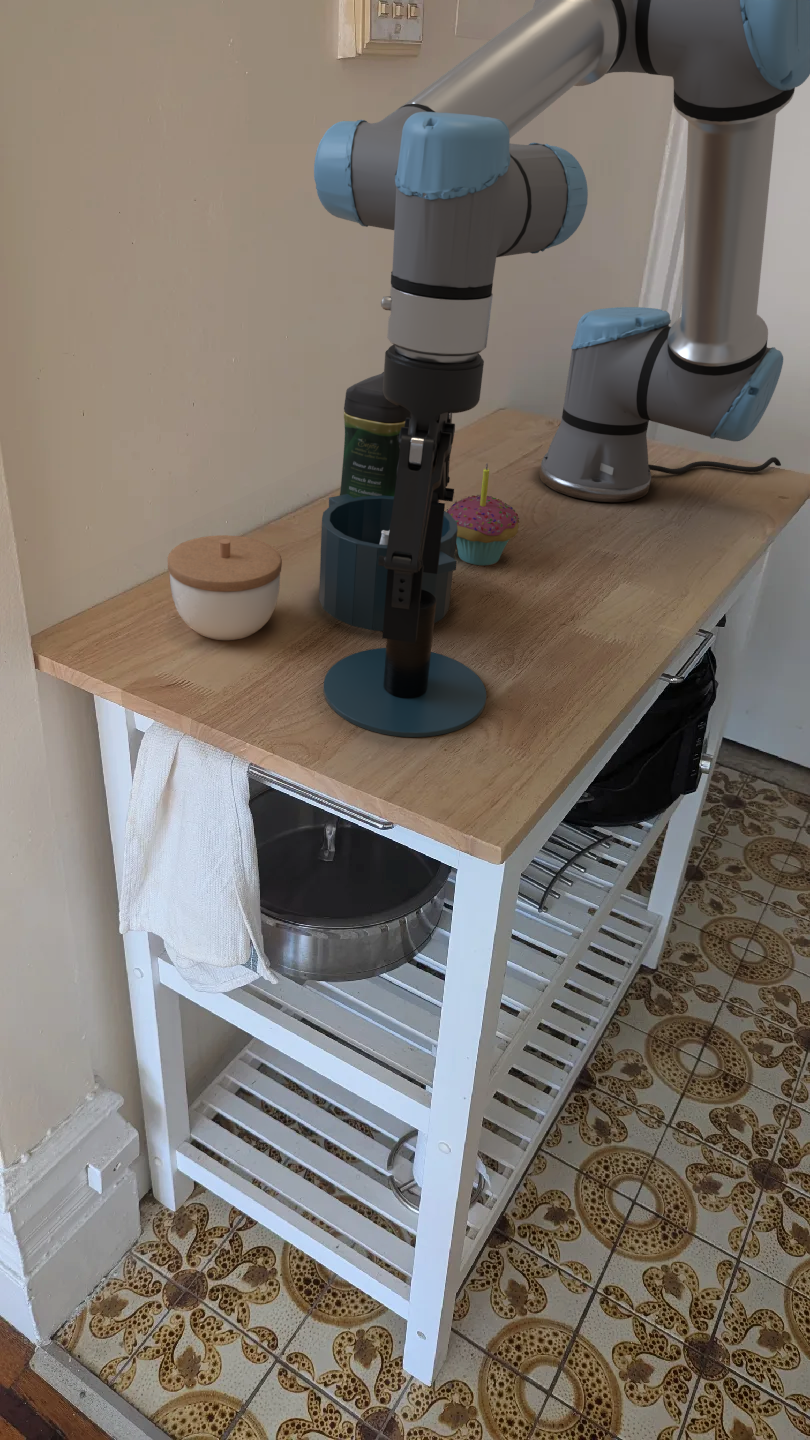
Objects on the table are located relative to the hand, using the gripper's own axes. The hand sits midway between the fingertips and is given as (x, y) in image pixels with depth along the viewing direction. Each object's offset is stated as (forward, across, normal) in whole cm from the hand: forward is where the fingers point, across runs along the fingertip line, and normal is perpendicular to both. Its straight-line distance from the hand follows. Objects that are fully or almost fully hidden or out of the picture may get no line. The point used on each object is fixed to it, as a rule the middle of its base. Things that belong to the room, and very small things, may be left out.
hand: (411, 602), depth 91 cm
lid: (+9, 0, 0) cm, 9 cm away
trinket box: (+10, -8, -19) cm, 23 cm away
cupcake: (+10, -33, +4) cm, 35 cm away
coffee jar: (+10, -36, -9) cm, 39 cm away
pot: (+10, -18, -5) cm, 21 cm away
